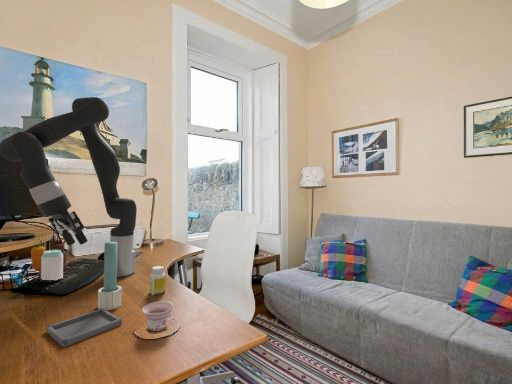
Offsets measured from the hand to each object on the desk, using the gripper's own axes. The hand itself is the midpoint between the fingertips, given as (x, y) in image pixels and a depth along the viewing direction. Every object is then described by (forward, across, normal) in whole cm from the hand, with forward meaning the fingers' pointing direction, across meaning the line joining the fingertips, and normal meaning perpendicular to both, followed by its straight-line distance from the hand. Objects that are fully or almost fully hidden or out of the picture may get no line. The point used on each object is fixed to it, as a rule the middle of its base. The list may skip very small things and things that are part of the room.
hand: (77, 243), depth 88 cm
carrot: (+13, +52, 0) cm, 53 cm away
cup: (+22, -6, +4) cm, 23 cm away
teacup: (+26, -28, +4) cm, 39 cm away
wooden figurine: (+16, +53, -7) cm, 56 cm away
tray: (+19, -14, +14) cm, 27 cm away
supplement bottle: (+29, -8, -11) cm, 32 cm away
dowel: (+21, -6, +3) cm, 22 cm away
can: (+15, +36, +2) cm, 39 cm away
